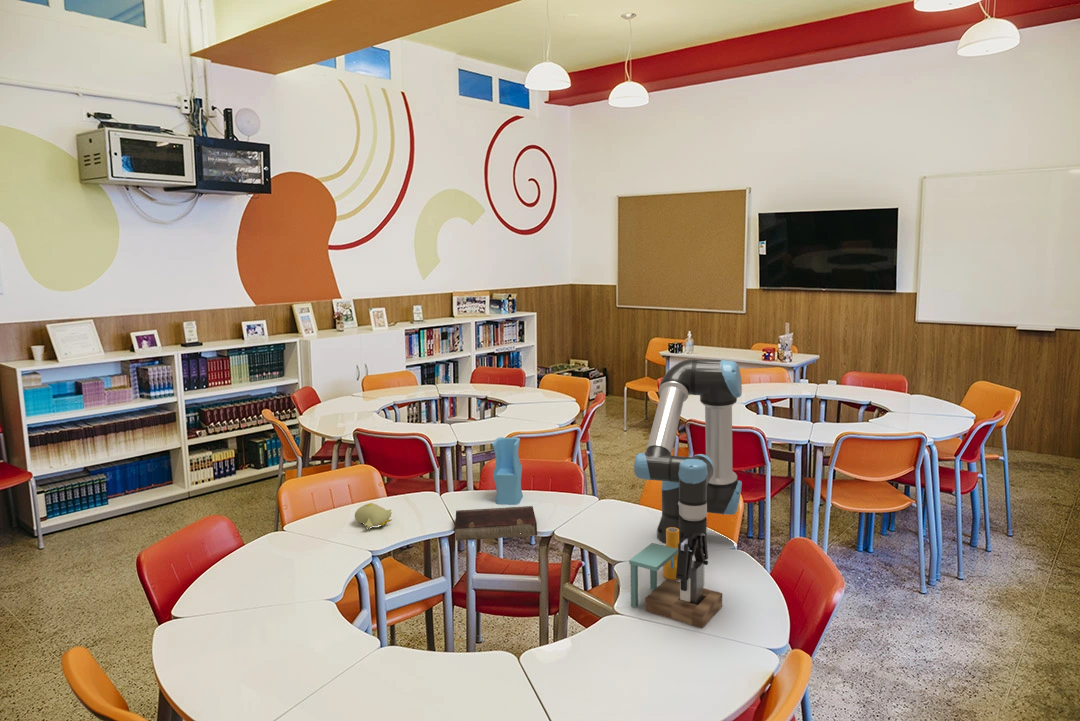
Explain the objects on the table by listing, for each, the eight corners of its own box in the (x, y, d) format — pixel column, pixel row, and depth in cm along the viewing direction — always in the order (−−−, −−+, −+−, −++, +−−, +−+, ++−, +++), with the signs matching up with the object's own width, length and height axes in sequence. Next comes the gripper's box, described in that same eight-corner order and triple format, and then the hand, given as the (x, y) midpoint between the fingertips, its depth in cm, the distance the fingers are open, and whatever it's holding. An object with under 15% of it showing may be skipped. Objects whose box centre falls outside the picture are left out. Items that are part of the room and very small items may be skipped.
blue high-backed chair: (494, 504, 290) (491, 443, 286) (499, 495, 300) (497, 437, 296) (518, 504, 289) (516, 444, 285) (523, 496, 298) (521, 437, 294)
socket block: (667, 591, 214) (667, 578, 214) (722, 606, 205) (722, 593, 204) (645, 611, 203) (645, 597, 203) (702, 628, 193) (702, 614, 193)
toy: (373, 518, 261) (343, 505, 268) (372, 539, 264) (342, 526, 270) (400, 502, 273) (370, 490, 280) (399, 523, 276) (369, 510, 283)
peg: (702, 609, 203) (703, 563, 201) (696, 616, 199) (696, 569, 197) (688, 605, 206) (688, 559, 203) (681, 612, 202) (681, 565, 200)
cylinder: (689, 585, 217) (690, 538, 215) (654, 583, 219) (654, 536, 217) (689, 568, 229) (690, 523, 227) (656, 566, 231) (656, 521, 229)
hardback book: (532, 517, 277) (532, 504, 276) (537, 536, 258) (536, 523, 257) (456, 521, 274) (456, 509, 273) (455, 541, 256) (454, 528, 255)
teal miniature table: (652, 586, 217) (652, 542, 215) (678, 594, 212) (678, 549, 210) (629, 606, 206) (629, 560, 204) (656, 614, 201) (656, 567, 199)
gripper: (696, 501, 209) (695, 574, 212) (662, 526, 192) (662, 605, 195) (720, 506, 204) (720, 581, 208) (689, 532, 187) (688, 613, 191)
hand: (692, 593), depth 202 cm, fingers open, 9 cm apart
